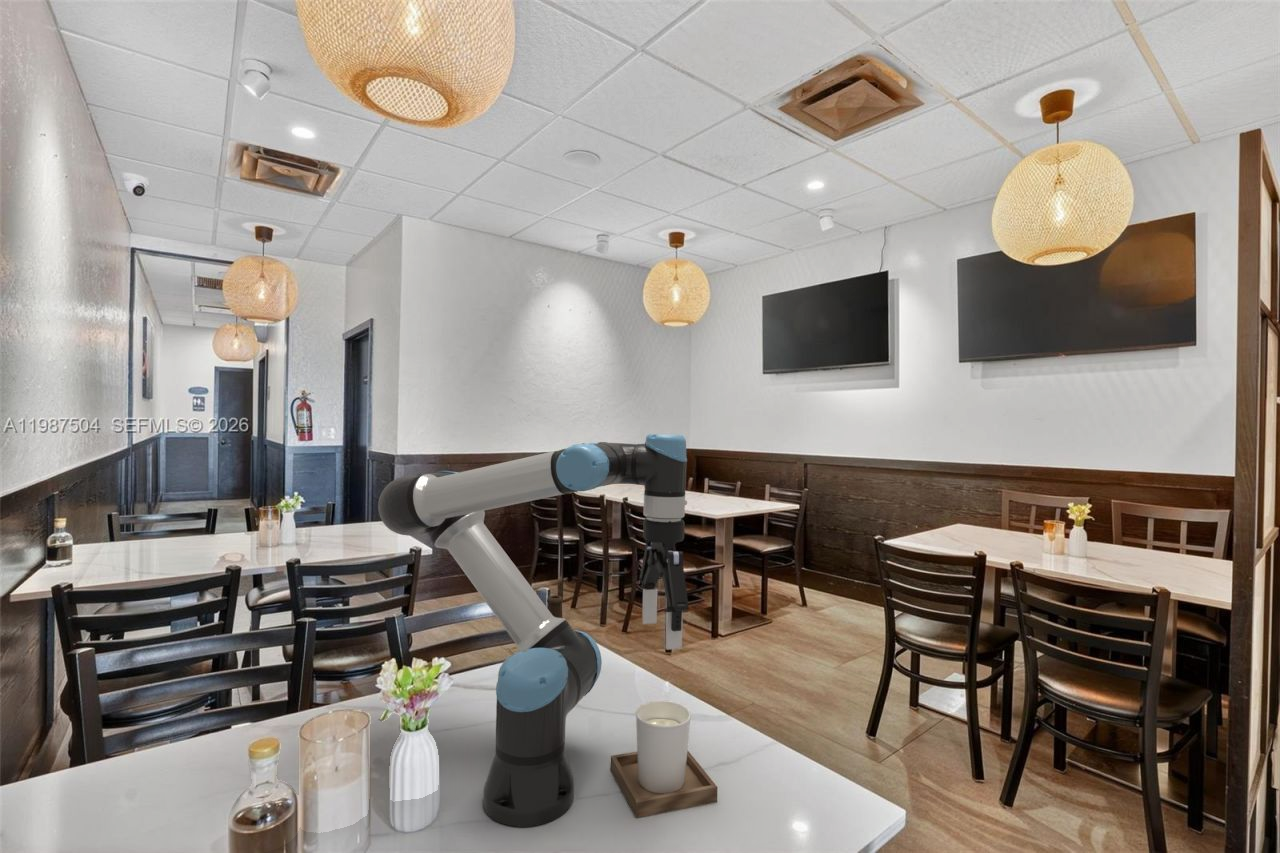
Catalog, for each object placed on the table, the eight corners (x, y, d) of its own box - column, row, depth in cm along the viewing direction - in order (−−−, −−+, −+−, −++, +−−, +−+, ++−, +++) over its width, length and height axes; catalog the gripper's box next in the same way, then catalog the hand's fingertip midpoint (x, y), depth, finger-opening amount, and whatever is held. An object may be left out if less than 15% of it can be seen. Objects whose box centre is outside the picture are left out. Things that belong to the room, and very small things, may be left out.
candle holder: (689, 767, 111) (691, 702, 111) (688, 799, 101) (690, 728, 101) (636, 762, 112) (638, 698, 112) (630, 794, 102) (632, 723, 102)
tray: (636, 818, 97) (636, 802, 97) (610, 769, 111) (610, 755, 111) (717, 801, 102) (717, 786, 102) (682, 757, 116) (682, 744, 116)
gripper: (710, 529, 98) (706, 658, 98) (661, 509, 122) (658, 613, 122) (667, 530, 96) (663, 662, 96) (626, 509, 120) (622, 615, 120)
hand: (660, 635), depth 109 cm, fingers open, 13 cm apart
